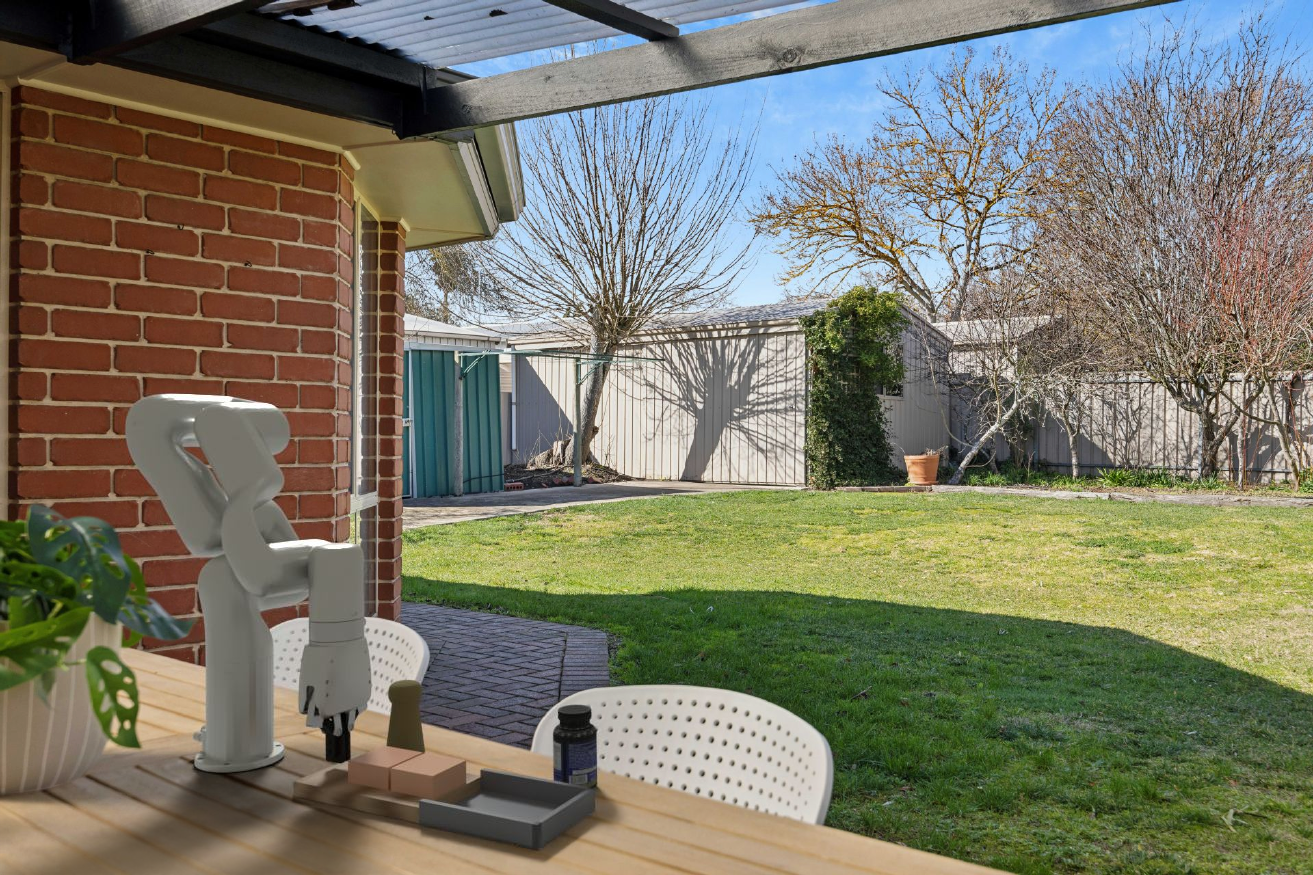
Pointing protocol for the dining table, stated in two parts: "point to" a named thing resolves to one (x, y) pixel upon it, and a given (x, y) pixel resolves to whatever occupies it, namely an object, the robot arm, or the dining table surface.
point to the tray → (513, 809)
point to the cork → (405, 716)
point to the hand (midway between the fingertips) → (338, 760)
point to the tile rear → (377, 766)
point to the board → (371, 793)
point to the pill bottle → (575, 747)
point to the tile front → (428, 775)
